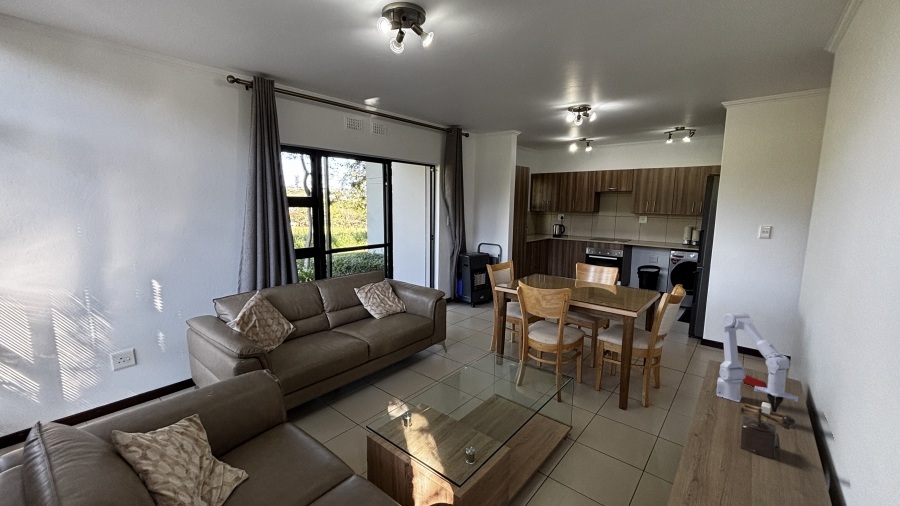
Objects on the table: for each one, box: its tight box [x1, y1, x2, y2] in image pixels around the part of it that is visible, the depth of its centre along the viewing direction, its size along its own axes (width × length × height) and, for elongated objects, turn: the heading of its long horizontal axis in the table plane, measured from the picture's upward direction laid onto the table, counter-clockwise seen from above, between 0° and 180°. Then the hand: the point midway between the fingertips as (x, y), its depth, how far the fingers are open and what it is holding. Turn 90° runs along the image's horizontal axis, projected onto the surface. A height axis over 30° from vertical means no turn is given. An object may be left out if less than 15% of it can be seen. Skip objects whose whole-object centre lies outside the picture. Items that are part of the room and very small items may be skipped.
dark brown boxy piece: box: [739, 407, 796, 459], centre depth 142 cm, size 16×11×18 cm
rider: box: [760, 401, 772, 415], centre depth 165 cm, size 3×5×5 cm, turn 134°
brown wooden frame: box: [740, 402, 790, 427], centre depth 166 cm, size 16×6×3 cm, turn 44°
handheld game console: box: [742, 374, 768, 389], centre depth 193 cm, size 12×11×7 cm
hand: (774, 411), depth 163 cm, fingers closed
